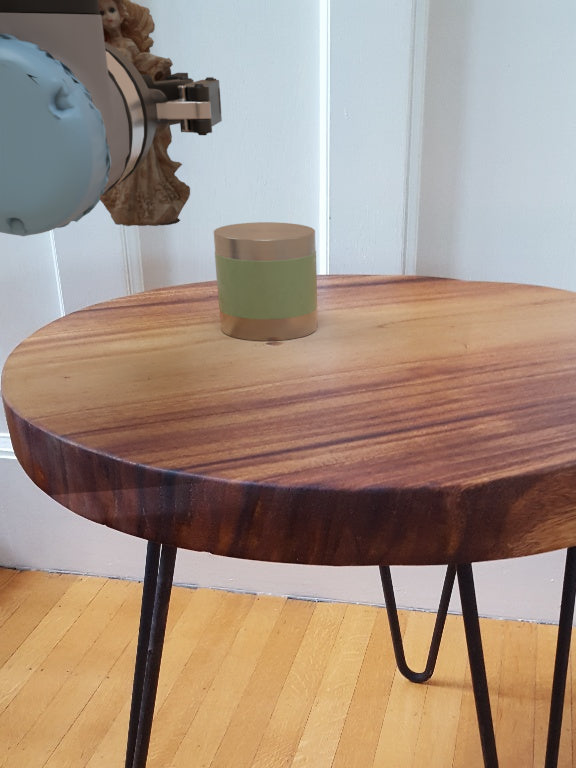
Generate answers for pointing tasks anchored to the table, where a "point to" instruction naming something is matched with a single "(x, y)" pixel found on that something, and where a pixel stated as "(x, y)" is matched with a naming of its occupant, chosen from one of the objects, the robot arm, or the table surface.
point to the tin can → (266, 280)
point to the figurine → (156, 174)
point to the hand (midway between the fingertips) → (140, 93)
